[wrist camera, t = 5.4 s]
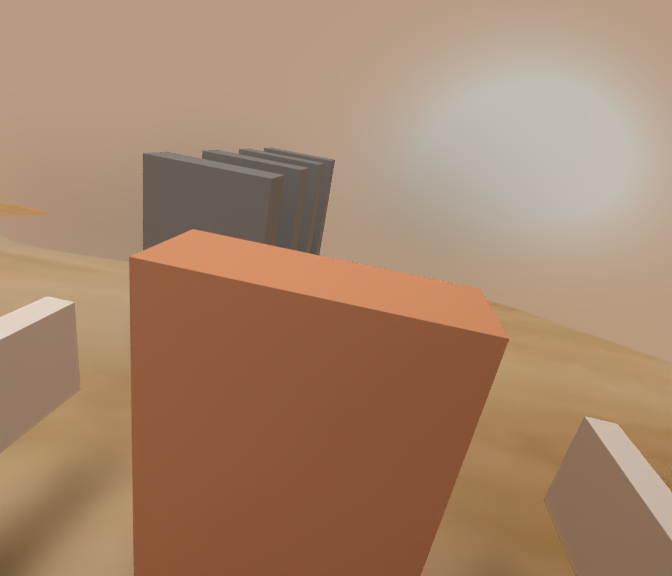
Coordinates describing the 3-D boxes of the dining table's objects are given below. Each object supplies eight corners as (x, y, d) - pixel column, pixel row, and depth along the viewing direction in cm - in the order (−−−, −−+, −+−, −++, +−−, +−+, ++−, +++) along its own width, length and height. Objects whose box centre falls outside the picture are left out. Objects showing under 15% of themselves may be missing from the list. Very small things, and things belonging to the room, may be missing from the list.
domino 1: (257, 395, 20) (284, 175, 16) (244, 418, 19) (271, 178, 15) (163, 374, 21) (168, 152, 17) (143, 394, 19) (142, 153, 15)
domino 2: (282, 348, 25) (308, 167, 21) (274, 363, 23) (301, 169, 19) (206, 331, 25) (217, 149, 21) (192, 344, 24) (202, 150, 20)
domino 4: (312, 292, 34) (334, 160, 30) (308, 300, 33) (331, 161, 29) (256, 280, 35) (271, 147, 31) (249, 287, 33) (263, 148, 29)
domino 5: (354, 670, 11) (480, 288, 7) (347, 769, 9) (508, 338, 5) (175, 620, 11) (192, 228, 7) (135, 706, 9) (129, 256, 5)
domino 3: (300, 316, 30) (324, 163, 26) (294, 326, 28) (319, 164, 24) (235, 302, 30) (249, 148, 26) (225, 311, 28) (239, 149, 24)
